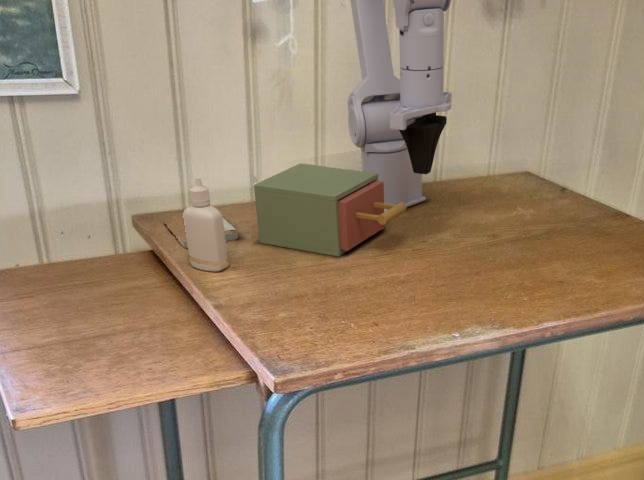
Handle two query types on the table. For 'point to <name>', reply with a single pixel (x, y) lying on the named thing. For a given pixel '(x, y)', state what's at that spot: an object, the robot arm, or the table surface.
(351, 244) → the drawer
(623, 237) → the table surface
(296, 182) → the cabinet
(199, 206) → the eye dropper bottle
